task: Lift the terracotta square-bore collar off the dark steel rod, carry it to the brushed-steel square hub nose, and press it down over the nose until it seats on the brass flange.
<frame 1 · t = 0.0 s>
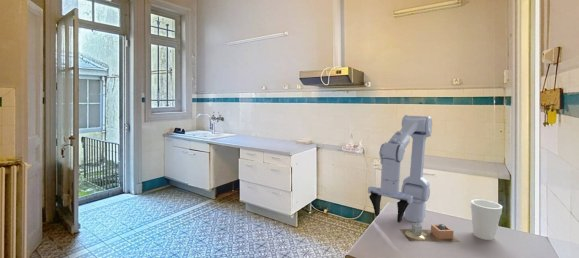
hand: (388, 218, 97), 10 cm above the countertop, tool pointing down, fingers open, 7 cm apart
jig board: (428, 237, 105), on the countertop
hub: (416, 237, 105), resting on jig board
foam cup: (483, 238, 105), on the countertop
stand rod: (441, 238, 105), resting on jig board
collar: (441, 235, 105), point 1 cm above the countertop, touching jig board
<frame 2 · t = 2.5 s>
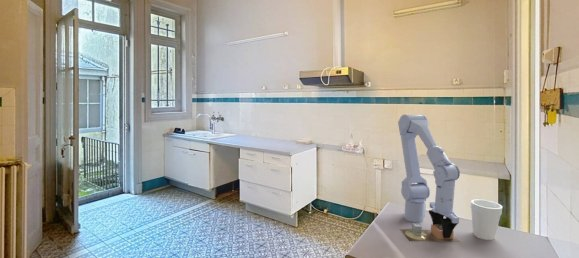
hand: (441, 233, 105), 2 cm above the countertop, tool pointing down, fingers closed on collar, 5 cm apart
collar: (441, 235, 105), point 1 cm above the countertop, touching gripper, jig board
everything else where it was.
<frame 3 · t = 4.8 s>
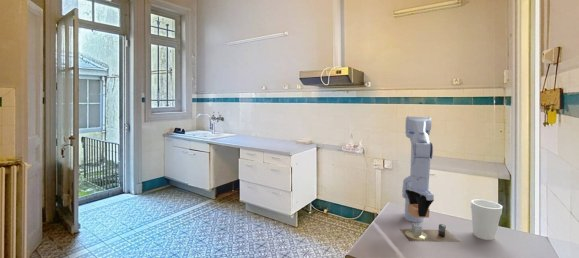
hand: (417, 212, 104), 9 cm above the countertop, tool pointing down, fingers closed on collar, 5 cm apart
collar: (418, 214, 104), point 9 cm above the countertop, touching gripper
everything else where it was.
when the fingers open (2 cm above the countertop, at t = 7.4 s): collar stays where it is, resting on hub.
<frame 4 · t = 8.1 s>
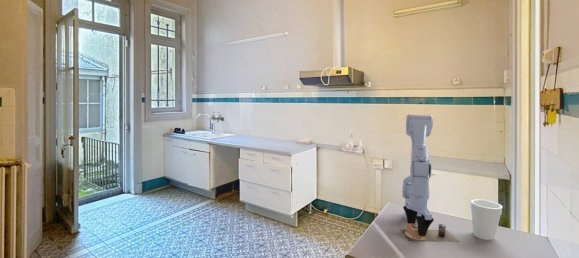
hand: (416, 230, 105), 3 cm above the countertop, tool pointing down, fingers open, 7 cm apart
collar: (416, 234, 105), point 1 cm above the countertop, touching hub
everything else where it was.
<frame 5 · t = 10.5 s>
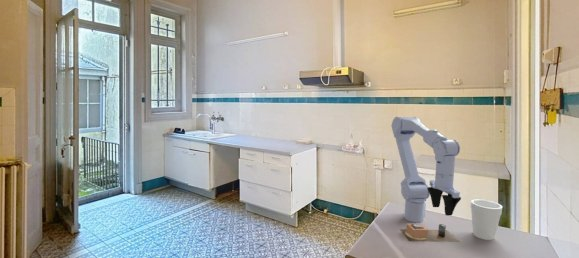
hand: (442, 210, 103), 10 cm above the countertop, tool pointing down, fingers open, 7 cm apart
nothing on the countertop moved.
at the end: collar 0.1 cm off-centre on the hub, point 1.2 cm above the hub's base; the gripper is holding nothing; collar tilted 0° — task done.
